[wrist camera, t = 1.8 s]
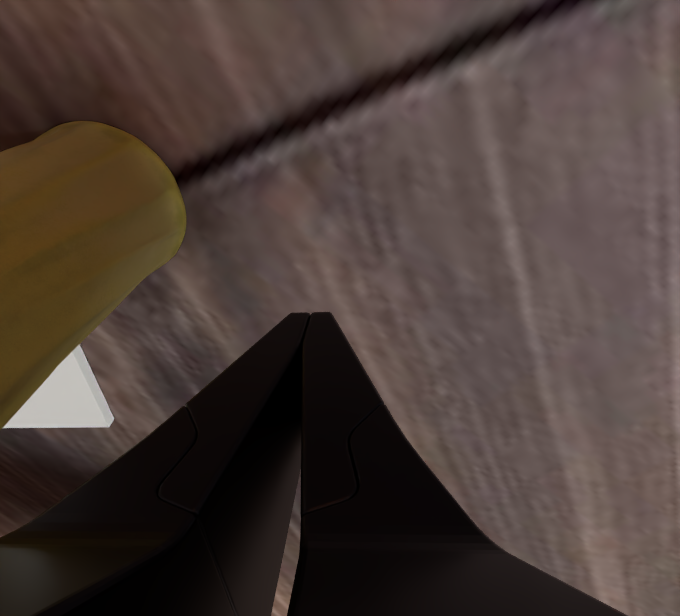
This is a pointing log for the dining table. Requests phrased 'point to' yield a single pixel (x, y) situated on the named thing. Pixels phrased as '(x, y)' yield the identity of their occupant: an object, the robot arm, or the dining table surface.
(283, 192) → the dining table surface
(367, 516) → the robot arm
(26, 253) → the vase
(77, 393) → the mat
